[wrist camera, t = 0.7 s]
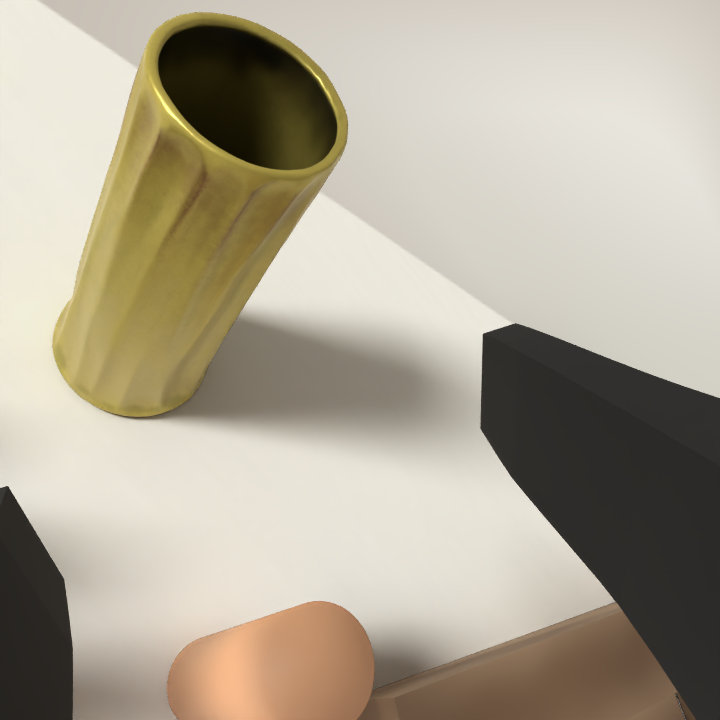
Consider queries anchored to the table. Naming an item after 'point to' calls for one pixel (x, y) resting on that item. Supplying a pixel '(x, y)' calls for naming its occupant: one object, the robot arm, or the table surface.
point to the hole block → (543, 679)
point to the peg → (277, 669)
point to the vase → (194, 207)
